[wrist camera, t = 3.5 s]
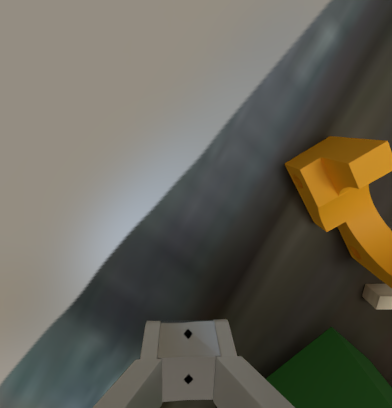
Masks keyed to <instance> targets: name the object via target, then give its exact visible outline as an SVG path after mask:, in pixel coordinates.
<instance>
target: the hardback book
mask: <svg viewBox="0 0 392 408" xmlns="http://www.w3.org/2000/svg"><path fill="white" fill-rule="evenodd" d="M266 380H267V381H268V382H269V383H270V384H271V385H272V386H273V387H274V388H275V389H276V390H277V391H278V392H279V393H280V394H281V395H282V396H283V397H284V398H286V399H287V400H288V401H289V402H290V403H291V404H292V405H293V406H294V407H295V408H392V388H391V386H390V385H389V384H388V383H387V381H386V380H385V379H384V378H383V376H382V375H381V374H380V373H379V371H378V370H377V369H376V368H375V366H374V365H373V364H372V363H371V361H370V360H369V359H368V358H366V357H365V356H364V355H363V354H362V353H361V352H360V351H359V350H357V349H356V348H355V347H354V346H353V345H352V344H351V343H349V342H348V341H347V340H346V339H345V338H344V337H343V336H342V335H340V334H339V333H338V332H337V331H336V330H335V329H334V328H333V327H330V328H329V329H328V330H327V331H325V332H324V333H323V334H322V335H320V336H319V337H318V338H317V339H315V340H314V341H313V342H311V343H310V344H309V345H308V346H306V347H305V348H304V349H303V350H301V351H300V352H299V353H298V354H296V355H295V356H294V357H292V358H291V359H290V360H289V361H287V362H286V363H285V364H284V365H282V366H281V367H280V368H279V369H277V370H276V371H275V372H273V373H272V374H271V375H270V376H268V377H267V378H266Z"/></svg>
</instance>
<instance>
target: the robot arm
mask: <svg viewBox="0 0 392 408" xmlns="http://www.w3.org/2000/svg"><path fill="white" fill-rule="evenodd" d="M180 400H213V402H214V403H215V405H216V406H217V408H295V407H294V406H293V405H292V404H291V403H290V402H289V401H288V400H287V399H286V398H284V397H283V396H282V395H281V394H280V393H279V392H278V391H277V390H276V389H275V388H274V387H273V386H272V385H271V384H270V383H269V382H268V381H267V380H266V379H265V378H264V377H263V376H262V375H261V374H260V373H259V372H257V371H256V370H255V369H254V368H253V367H252V366H251V365H250V364H249V363H248V362H247V361H246V360H245V359H244V358H243V357H242V356H237V353H236V349H235V345H234V341H233V338H232V334H231V330H230V326H229V322H228V320H227V319H218V320H193V321H147V322H146V325H145V331H144V337H143V343H142V350H141V356H140V359H138V360H135V361H134V362H133V363H132V364H131V365H130V366H129V368H128V369H127V370H126V371H125V372H124V373H123V374H122V375H121V376H120V378H119V379H118V380H117V381H116V382H115V383H114V384H113V385H112V387H111V388H110V389H109V390H108V391H107V392H106V393H105V394H104V395H103V397H102V398H101V399H100V400H99V401H98V402H97V403H96V404H95V405H94V407H93V408H160V407H161V405H162V402H168V401H180Z"/></svg>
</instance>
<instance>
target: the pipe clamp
mask: <svg viewBox="0 0 392 408" xmlns="http://www.w3.org/2000/svg"><path fill="white" fill-rule="evenodd" d="M285 166H286V168H287V170H288V172H289V174H290V176H291V178H292V180H293V182H294V184H295V186H296V188H297V190H298V192H299V194H300V196H301V198H302V200H303V202H304V204H305V206H306V208H307V210H308V212H309V214H310V216H311V218H312V220H313V222H314V223H315V224H317V225H318V226H319V227H321V228H322V229H323V230H325V231H326V232H328V231H330V230H332V229H333V228H335V227H338V229H339V231H340V233H341V235H342V238H343V240H344V242H345V244H346V246H347V248H348V250H349V252H350V254H351V257H352V258H353V259H355V260H356V261H357V262H358V263H360V264H361V265H362V266H364V267H365V268H366V269H367V270H369V271H370V272H371V273H373V274H374V275H375V276H376V277H378V278H379V279H380V280H381V281H383V282H384V283H385V284H387V285H388V286H389V287H390V288H392V231H391V230H390V229H389V227H388V226H387V225H386V224H385V222H384V221H383V219H382V218H381V217H380V215H379V213H378V212H377V210H376V208H375V206H374V204H373V202H372V199H371V196H370V193H369V184H370V183H371V182H373V181H375V180H377V179H378V178H380V177H382V176H384V175H385V174H387V173H389V172H391V171H392V152H391V149H390V146H389V143H388V141H383V140H370V139H358V138H345V137H332V136H330V137H328V138H326V139H325V140H323V141H321V142H320V143H318V144H316V145H315V146H313V147H311V148H310V149H308V150H306V151H305V152H303V153H301V154H300V155H298V156H296V157H295V158H293V159H291V160H290V161H288V162H286V163H285Z"/></svg>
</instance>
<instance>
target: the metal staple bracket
mask: <svg viewBox="0 0 392 408" xmlns="http://www.w3.org/2000/svg"><path fill="white" fill-rule="evenodd" d="M362 297H363V298H364V299H365V300H367V301H368V302H369V303H370V304H371V305H372V306H373V307H374V308H375V309H392V288H390V287H389V286H388V285H387V284H365V287H364V291H363V294H362Z"/></svg>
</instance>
